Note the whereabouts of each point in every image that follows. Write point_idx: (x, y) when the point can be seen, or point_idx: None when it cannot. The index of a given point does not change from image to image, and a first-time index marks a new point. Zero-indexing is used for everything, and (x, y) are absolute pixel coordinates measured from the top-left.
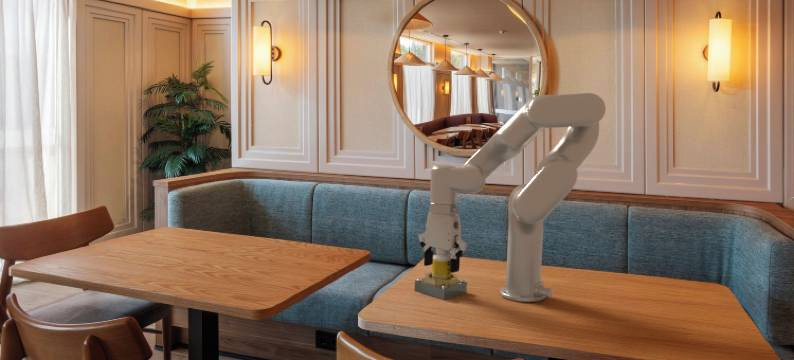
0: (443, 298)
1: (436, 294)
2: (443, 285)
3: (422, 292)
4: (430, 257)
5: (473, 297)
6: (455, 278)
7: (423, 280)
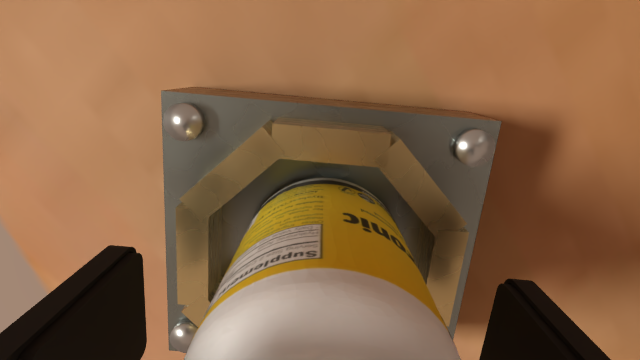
0: None
1: None
2: None
3: None
4: (93, 349)
5: (553, 173)
6: (462, 251)
7: None
